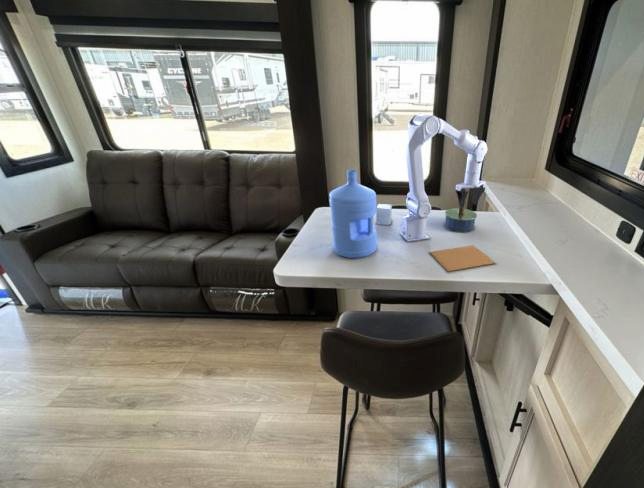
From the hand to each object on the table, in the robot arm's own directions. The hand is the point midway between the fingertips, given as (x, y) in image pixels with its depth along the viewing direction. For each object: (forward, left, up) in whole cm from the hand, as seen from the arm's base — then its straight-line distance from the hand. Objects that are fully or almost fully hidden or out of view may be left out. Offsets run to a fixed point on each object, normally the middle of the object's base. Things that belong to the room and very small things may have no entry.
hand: (468, 205), depth 128 cm
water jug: (-50, -7, -10) cm, 51 cm away
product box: (-32, +15, -10) cm, 37 cm away
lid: (-2, +1, -4) cm, 5 cm away
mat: (-16, -25, -10) cm, 31 cm away
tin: (-2, +1, -10) cm, 10 cm away
